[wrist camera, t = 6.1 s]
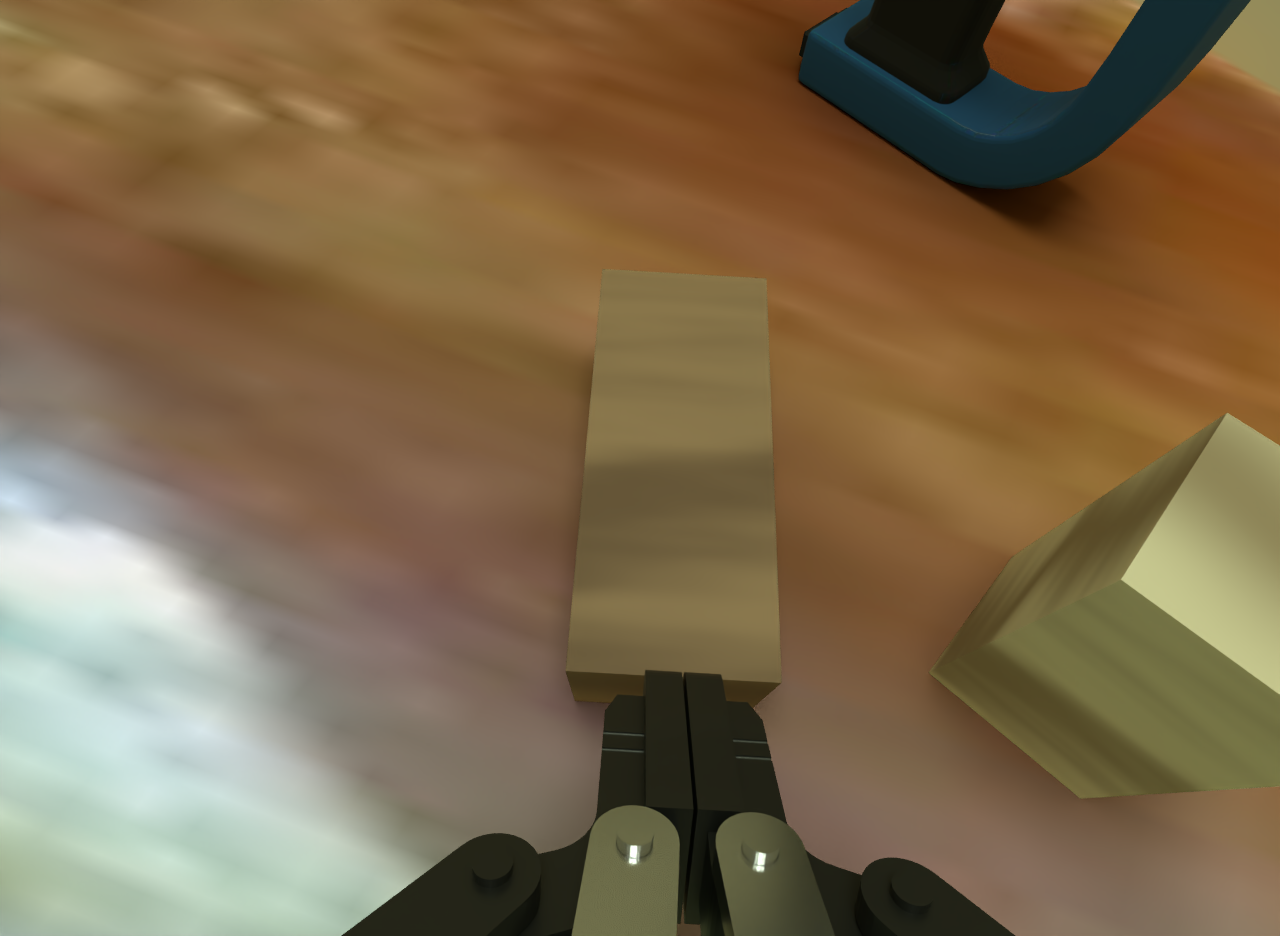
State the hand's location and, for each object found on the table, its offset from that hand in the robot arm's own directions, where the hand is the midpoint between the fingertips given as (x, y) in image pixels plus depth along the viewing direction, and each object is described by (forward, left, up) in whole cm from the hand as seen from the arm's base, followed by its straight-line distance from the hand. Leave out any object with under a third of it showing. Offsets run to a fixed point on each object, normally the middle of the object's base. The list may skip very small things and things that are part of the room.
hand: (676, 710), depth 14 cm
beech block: (+11, -3, -7) cm, 14 cm away
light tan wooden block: (+1, +1, -5) cm, 5 cm away
